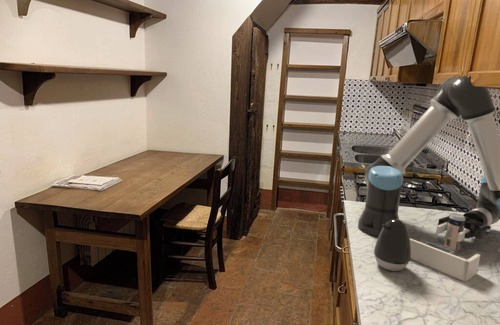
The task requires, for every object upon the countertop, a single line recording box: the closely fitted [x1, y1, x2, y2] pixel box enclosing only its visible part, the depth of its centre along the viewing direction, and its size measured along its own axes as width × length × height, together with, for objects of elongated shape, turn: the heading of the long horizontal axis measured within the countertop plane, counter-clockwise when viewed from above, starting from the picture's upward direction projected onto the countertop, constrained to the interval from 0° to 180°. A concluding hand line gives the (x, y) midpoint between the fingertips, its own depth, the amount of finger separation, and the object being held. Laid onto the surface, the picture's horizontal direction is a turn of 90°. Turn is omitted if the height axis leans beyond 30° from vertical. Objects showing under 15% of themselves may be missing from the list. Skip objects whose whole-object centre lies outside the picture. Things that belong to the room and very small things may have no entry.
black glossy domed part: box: [373, 218, 412, 272], centre depth 106 cm, size 10×10×15 cm
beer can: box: [443, 212, 465, 252], centre depth 121 cm, size 5×5×12 cm
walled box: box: [410, 238, 481, 282], centre depth 113 cm, size 11×24×6 cm, turn 38°
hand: (448, 233), depth 117 cm, fingers open, 6 cm apart
